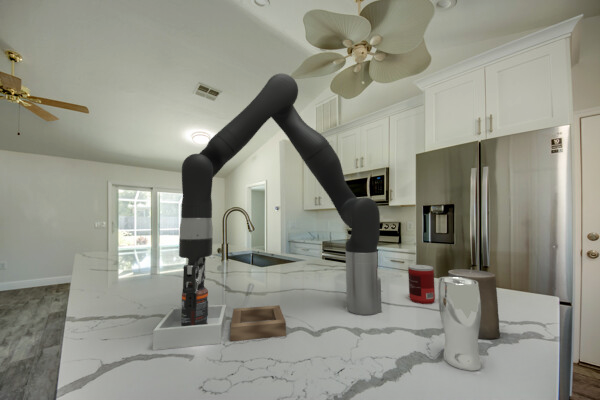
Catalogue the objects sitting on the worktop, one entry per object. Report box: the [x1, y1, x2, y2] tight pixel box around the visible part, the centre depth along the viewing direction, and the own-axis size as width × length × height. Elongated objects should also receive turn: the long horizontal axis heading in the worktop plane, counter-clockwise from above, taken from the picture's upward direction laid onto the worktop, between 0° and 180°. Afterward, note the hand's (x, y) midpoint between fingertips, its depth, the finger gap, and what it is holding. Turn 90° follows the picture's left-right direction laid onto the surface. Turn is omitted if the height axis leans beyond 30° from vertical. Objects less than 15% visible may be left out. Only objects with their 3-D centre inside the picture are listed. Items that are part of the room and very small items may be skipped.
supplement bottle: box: [181, 279, 209, 326], centre depth 62 cm, size 6×6×11 cm
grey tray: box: [152, 304, 227, 351], centre depth 62 cm, size 14×14×4 cm
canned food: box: [407, 264, 436, 305], centre depth 86 cm, size 8×8×11 cm
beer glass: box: [437, 276, 482, 372], centre depth 49 cm, size 7×7×15 cm
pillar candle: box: [448, 267, 501, 340], centre depth 63 cm, size 10×10×15 cm
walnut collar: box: [230, 305, 287, 342], centre depth 65 cm, size 12×12×3 cm
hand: (194, 304), depth 62 cm, fingers open, 8 cm apart
